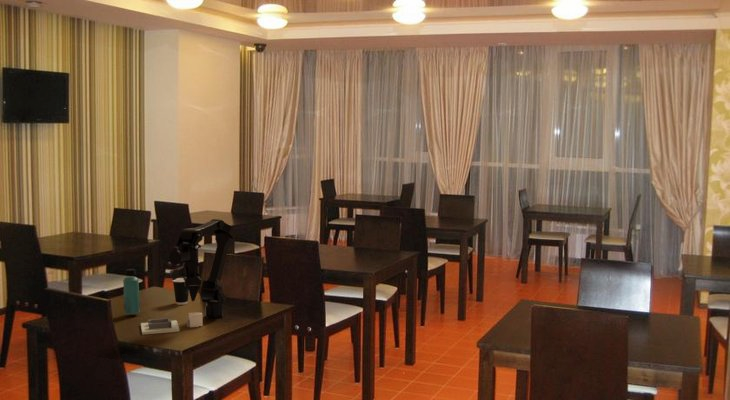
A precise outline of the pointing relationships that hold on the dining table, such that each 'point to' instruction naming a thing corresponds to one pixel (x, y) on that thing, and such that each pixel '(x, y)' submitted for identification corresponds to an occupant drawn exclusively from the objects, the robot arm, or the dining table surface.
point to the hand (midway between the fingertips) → (192, 298)
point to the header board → (159, 326)
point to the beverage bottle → (131, 293)
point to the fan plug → (195, 319)
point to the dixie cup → (180, 291)
